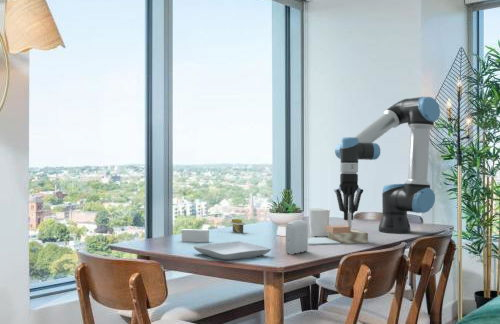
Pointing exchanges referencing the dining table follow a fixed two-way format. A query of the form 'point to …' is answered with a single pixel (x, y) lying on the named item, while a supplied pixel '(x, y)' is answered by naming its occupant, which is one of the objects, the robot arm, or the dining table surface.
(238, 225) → the brown and yellow container
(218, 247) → the salad plate
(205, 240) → the napkin holder
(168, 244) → the dining table surface
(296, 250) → the white upright block
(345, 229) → the terracotta tile
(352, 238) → the birch board
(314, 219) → the candle holder
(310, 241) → the rubber mat
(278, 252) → the dining table surface
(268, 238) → the dining table surface
